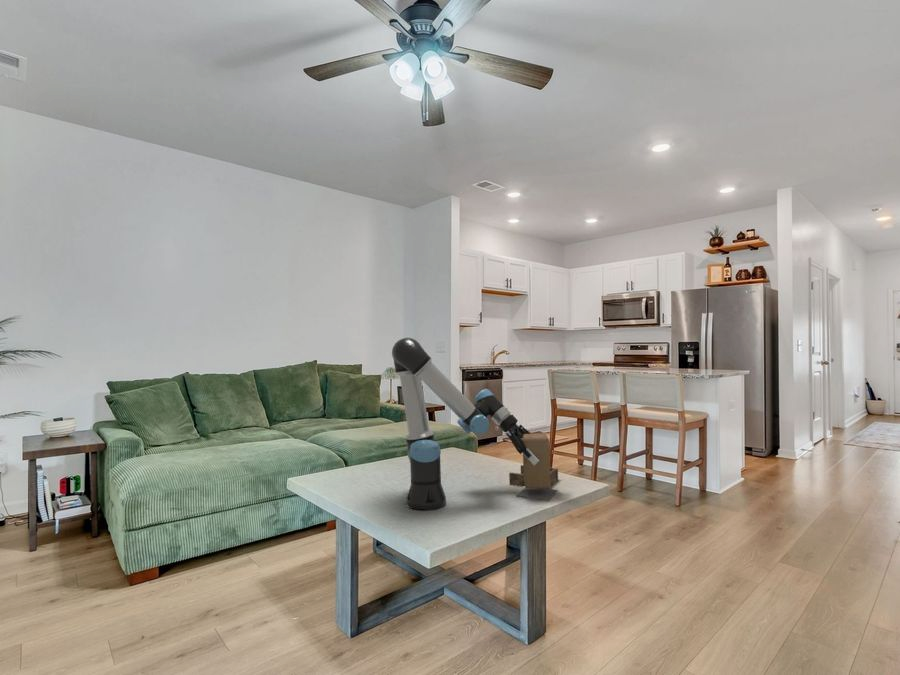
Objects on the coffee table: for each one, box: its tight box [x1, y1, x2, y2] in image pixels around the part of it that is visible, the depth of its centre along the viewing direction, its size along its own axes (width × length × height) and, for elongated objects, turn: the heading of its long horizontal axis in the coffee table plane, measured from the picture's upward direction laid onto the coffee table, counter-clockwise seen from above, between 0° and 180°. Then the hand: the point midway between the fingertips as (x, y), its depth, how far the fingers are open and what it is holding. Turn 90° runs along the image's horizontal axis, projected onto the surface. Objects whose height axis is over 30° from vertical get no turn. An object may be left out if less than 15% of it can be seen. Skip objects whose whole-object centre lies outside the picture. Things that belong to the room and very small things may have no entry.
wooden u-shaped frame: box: [508, 464, 559, 489], centre depth 208 cm, size 17×15×5 cm
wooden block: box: [521, 433, 552, 489], centre depth 191 cm, size 10×10×20 cm
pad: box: [515, 487, 558, 502], centre depth 191 cm, size 13×13×1 cm
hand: (541, 459), depth 190 cm, fingers closed on wooden block, 12 cm apart
